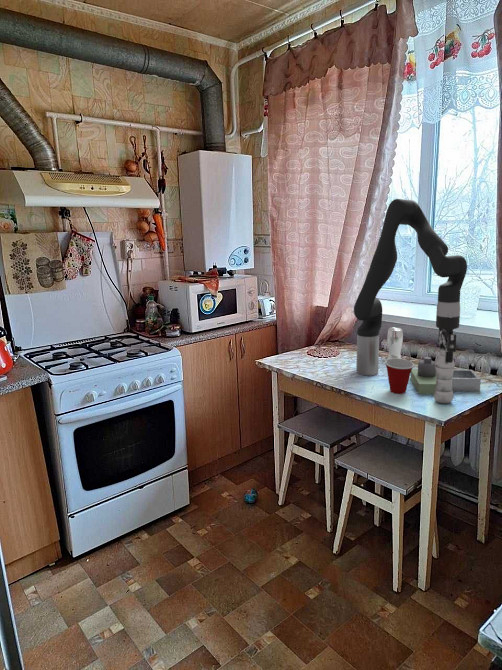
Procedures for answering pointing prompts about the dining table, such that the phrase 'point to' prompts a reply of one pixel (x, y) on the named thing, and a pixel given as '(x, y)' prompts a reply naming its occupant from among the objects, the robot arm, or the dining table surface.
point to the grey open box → (465, 381)
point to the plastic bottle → (443, 379)
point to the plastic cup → (398, 374)
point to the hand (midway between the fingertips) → (445, 358)
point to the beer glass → (394, 342)
